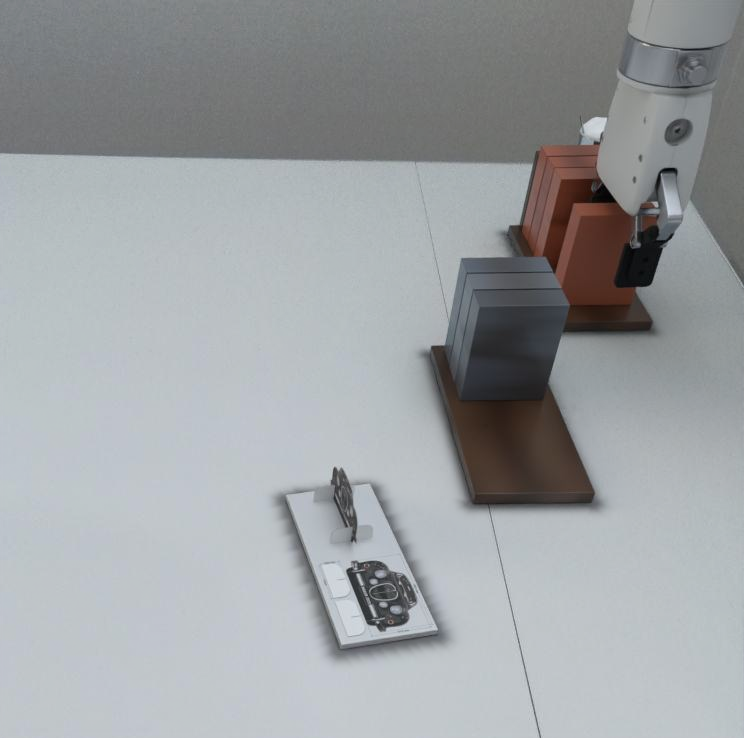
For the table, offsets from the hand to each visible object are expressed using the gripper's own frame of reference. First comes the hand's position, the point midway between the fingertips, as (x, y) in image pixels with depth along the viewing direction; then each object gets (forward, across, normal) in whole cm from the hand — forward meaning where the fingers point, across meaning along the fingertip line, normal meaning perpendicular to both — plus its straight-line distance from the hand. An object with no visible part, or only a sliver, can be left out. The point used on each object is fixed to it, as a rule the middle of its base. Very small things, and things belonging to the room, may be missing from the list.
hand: (614, 259), depth 89 cm
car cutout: (+5, -32, +28) cm, 43 cm away
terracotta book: (+5, +1, +1) cm, 5 cm away
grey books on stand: (+5, -16, +13) cm, 22 cm away
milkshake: (+6, +22, -5) cm, 23 cm away
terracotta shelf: (+5, +6, +1) cm, 8 cm away
